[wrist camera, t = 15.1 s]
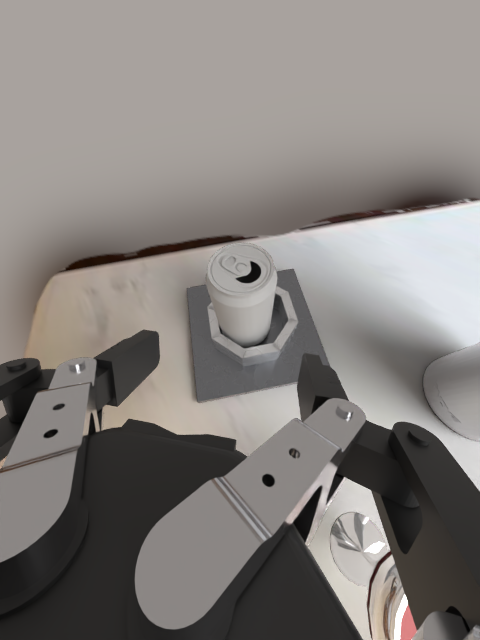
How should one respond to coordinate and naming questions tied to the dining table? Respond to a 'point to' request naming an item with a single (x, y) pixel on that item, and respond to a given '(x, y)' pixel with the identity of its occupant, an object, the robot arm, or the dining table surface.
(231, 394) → the collar stand
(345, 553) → the wineglass
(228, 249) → the beverage can
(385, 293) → the dining table surface
